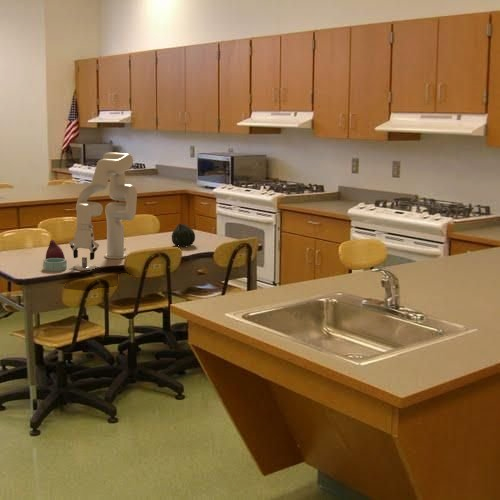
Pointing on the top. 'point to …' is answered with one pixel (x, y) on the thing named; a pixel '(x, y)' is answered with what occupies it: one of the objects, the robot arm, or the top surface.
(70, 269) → the mat
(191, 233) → the squash
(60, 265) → the bowl
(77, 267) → the lid
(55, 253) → the vegetable
